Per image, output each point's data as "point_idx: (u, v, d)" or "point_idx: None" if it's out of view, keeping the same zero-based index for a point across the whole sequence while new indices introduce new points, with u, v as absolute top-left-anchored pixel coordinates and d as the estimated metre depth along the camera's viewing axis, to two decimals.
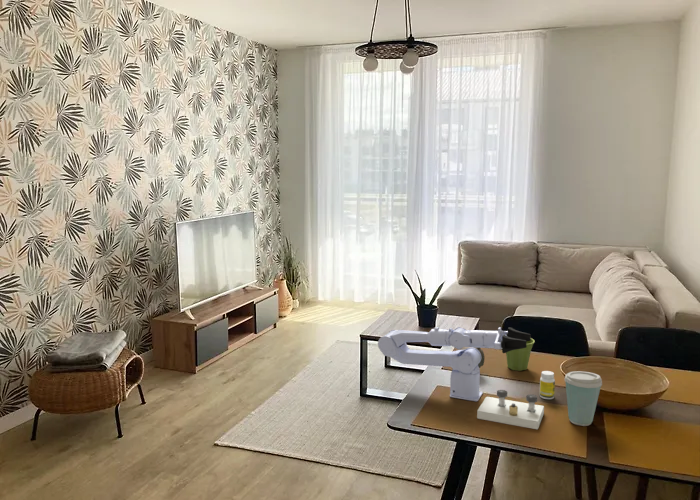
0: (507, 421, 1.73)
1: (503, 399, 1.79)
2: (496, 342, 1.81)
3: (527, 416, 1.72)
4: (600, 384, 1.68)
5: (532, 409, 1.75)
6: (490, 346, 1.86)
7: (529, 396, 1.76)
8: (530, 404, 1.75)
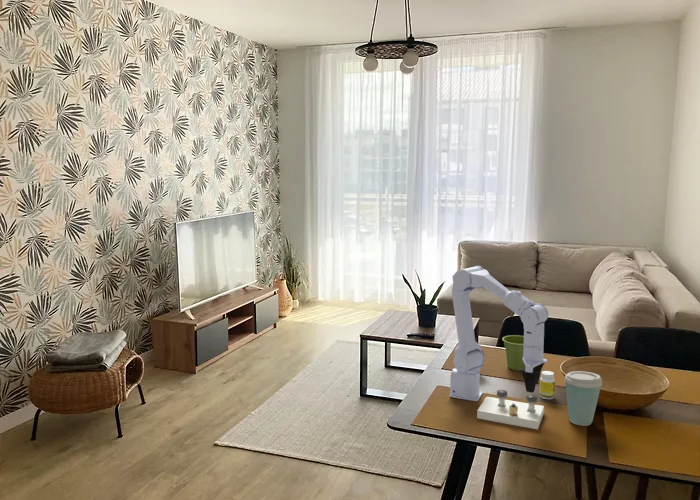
0: (507, 421, 1.73)
1: (503, 399, 1.79)
2: (532, 367, 1.68)
3: (527, 416, 1.72)
4: (600, 384, 1.68)
5: (532, 409, 1.75)
6: (526, 352, 1.72)
7: (529, 396, 1.76)
8: (530, 404, 1.75)
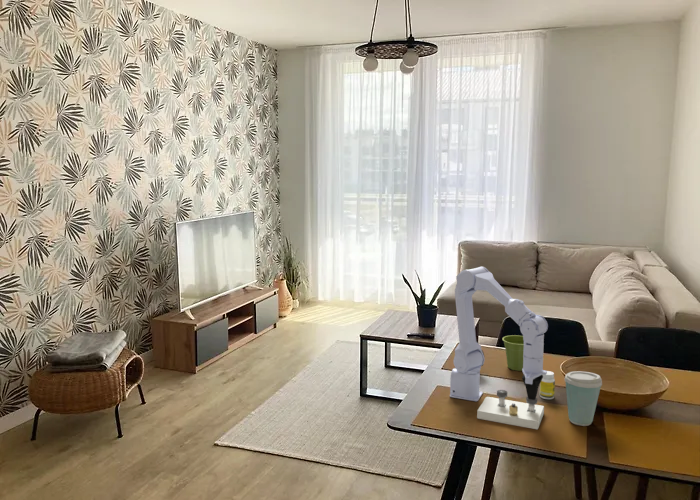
0: (507, 421, 1.73)
1: (503, 399, 1.79)
2: (532, 379, 1.68)
3: (527, 416, 1.72)
4: (600, 384, 1.68)
5: (532, 411, 1.75)
6: (525, 363, 1.73)
7: None
8: (530, 406, 1.75)
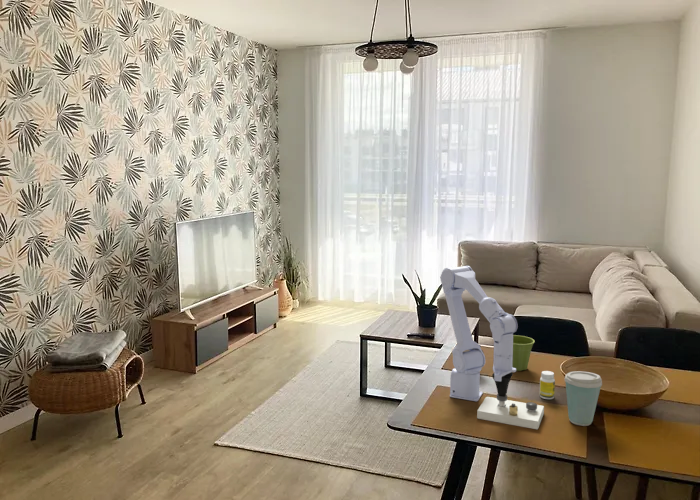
0: (507, 421, 1.73)
1: (503, 403, 1.79)
2: (501, 376, 1.72)
3: (527, 416, 1.72)
4: (600, 384, 1.68)
5: None
6: (495, 361, 1.77)
7: (529, 404, 1.76)
8: None
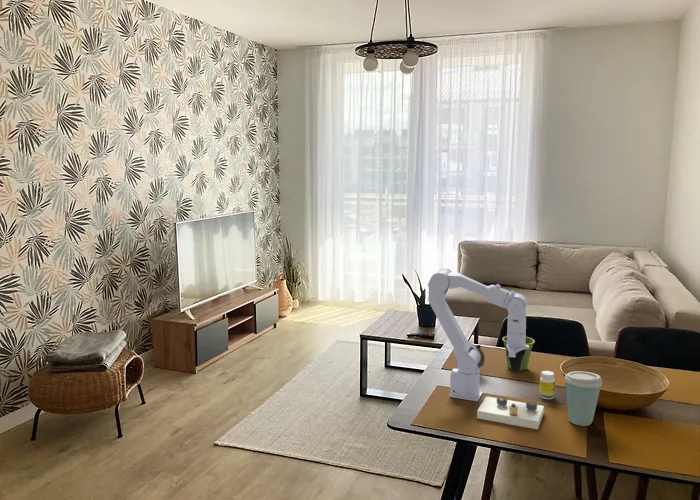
0: (507, 421, 1.73)
1: None
2: (515, 353, 1.79)
3: (527, 416, 1.72)
4: (600, 384, 1.68)
5: None
6: (509, 338, 1.84)
7: (529, 404, 1.76)
8: None
